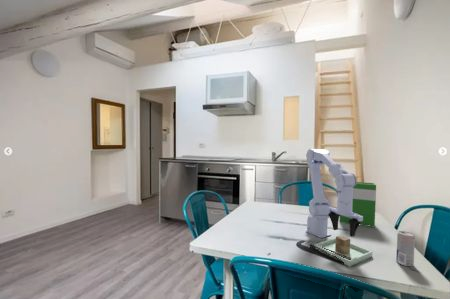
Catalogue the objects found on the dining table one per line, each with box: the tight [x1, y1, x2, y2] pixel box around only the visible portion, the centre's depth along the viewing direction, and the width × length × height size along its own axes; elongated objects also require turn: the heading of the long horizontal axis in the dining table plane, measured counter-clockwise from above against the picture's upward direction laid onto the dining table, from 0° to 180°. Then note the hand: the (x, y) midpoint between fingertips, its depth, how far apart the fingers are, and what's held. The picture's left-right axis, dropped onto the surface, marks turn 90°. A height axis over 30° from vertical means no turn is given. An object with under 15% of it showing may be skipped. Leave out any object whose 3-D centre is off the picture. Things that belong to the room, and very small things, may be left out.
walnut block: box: [335, 234, 351, 255], centre depth 96 cm, size 4×4×6 cm
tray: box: [313, 237, 373, 268], centre depth 97 cm, size 16×16×2 cm
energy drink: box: [396, 230, 416, 267], centre depth 89 cm, size 5×5×12 cm
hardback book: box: [339, 181, 377, 227], centre depth 135 cm, size 18×7×24 cm, turn 63°
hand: (343, 232), depth 98 cm, fingers open, 7 cm apart
